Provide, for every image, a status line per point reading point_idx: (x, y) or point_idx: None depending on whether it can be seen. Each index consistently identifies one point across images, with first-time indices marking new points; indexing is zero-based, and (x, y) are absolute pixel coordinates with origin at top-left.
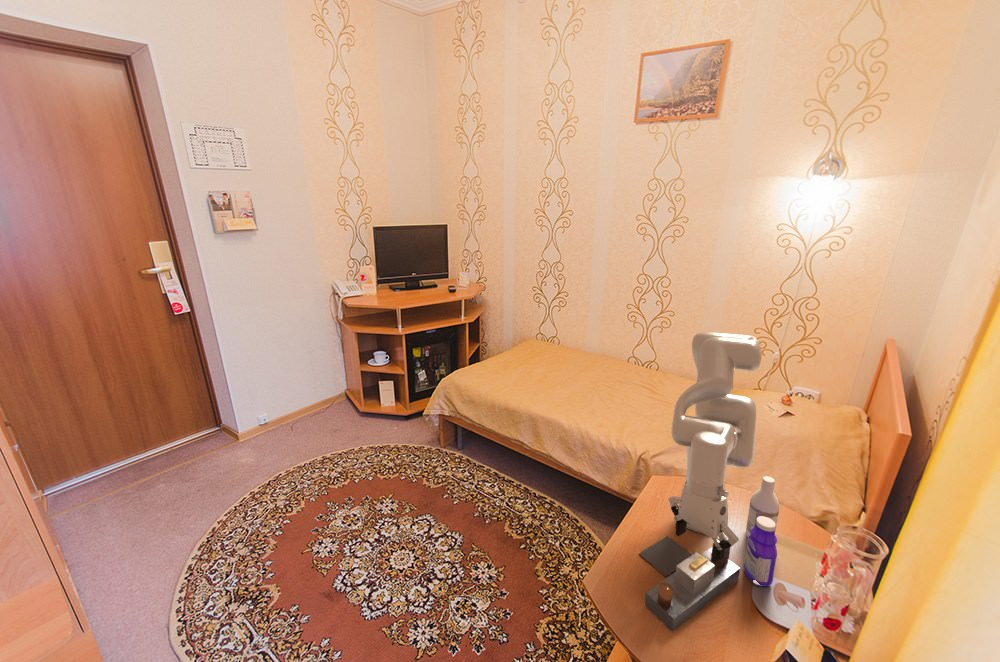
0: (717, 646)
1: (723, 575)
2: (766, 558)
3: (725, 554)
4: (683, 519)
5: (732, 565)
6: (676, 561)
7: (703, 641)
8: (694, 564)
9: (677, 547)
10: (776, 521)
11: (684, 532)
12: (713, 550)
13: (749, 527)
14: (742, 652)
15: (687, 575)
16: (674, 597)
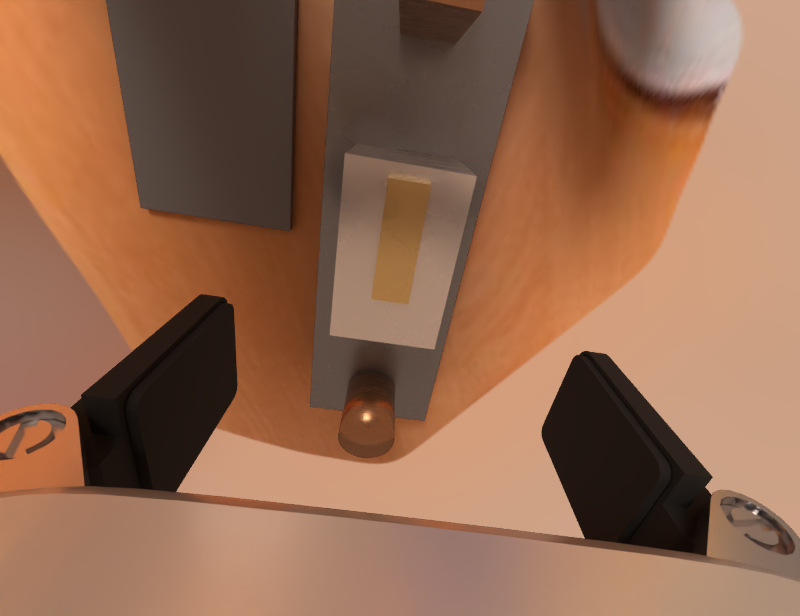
0: (533, 335)
1: (490, 84)
2: None
3: None
4: (120, 472)
5: None
6: (263, 115)
7: (496, 349)
8: (392, 280)
9: (199, 2)
10: None
11: (232, 319)
12: (587, 532)
13: None
14: (597, 303)
15: (395, 341)
16: (385, 359)
